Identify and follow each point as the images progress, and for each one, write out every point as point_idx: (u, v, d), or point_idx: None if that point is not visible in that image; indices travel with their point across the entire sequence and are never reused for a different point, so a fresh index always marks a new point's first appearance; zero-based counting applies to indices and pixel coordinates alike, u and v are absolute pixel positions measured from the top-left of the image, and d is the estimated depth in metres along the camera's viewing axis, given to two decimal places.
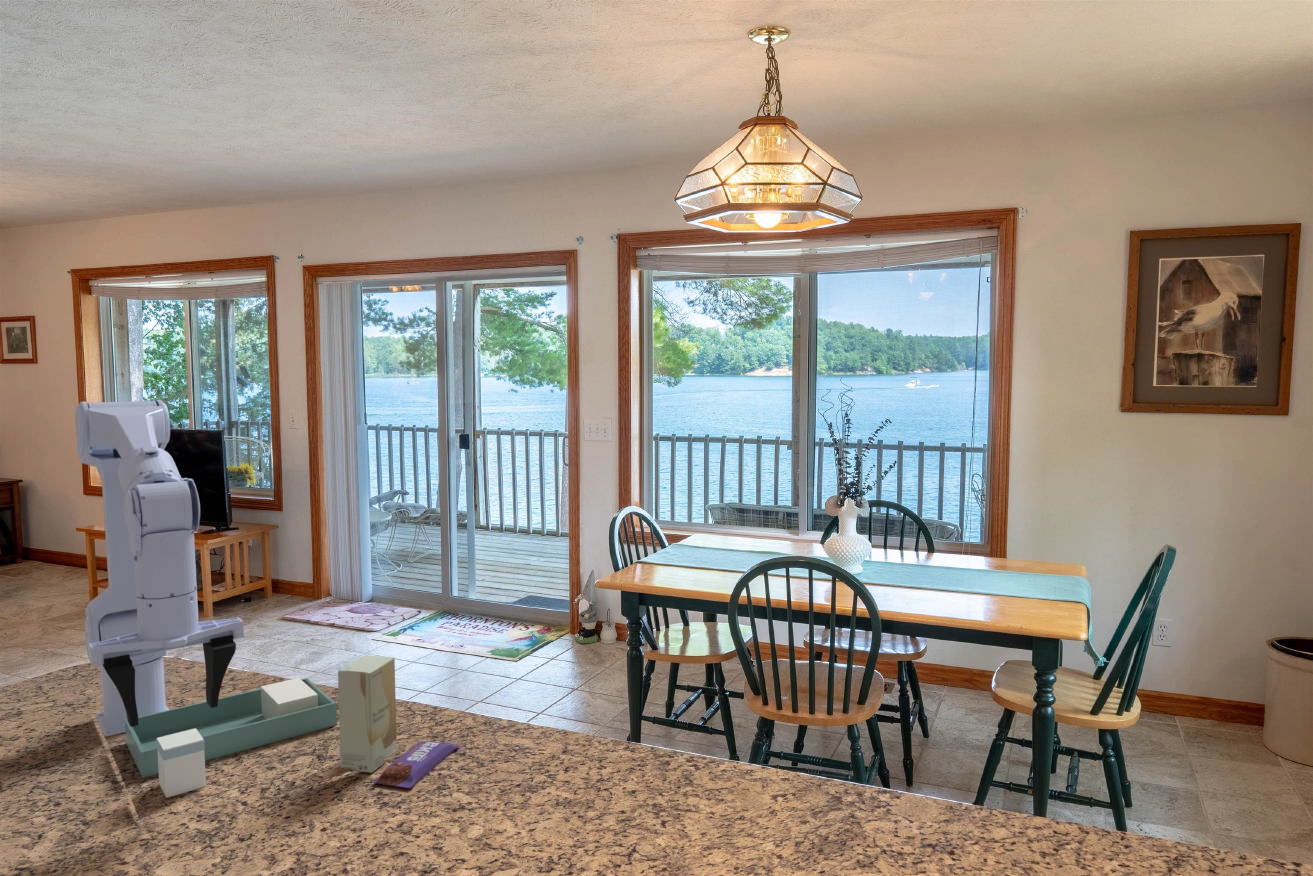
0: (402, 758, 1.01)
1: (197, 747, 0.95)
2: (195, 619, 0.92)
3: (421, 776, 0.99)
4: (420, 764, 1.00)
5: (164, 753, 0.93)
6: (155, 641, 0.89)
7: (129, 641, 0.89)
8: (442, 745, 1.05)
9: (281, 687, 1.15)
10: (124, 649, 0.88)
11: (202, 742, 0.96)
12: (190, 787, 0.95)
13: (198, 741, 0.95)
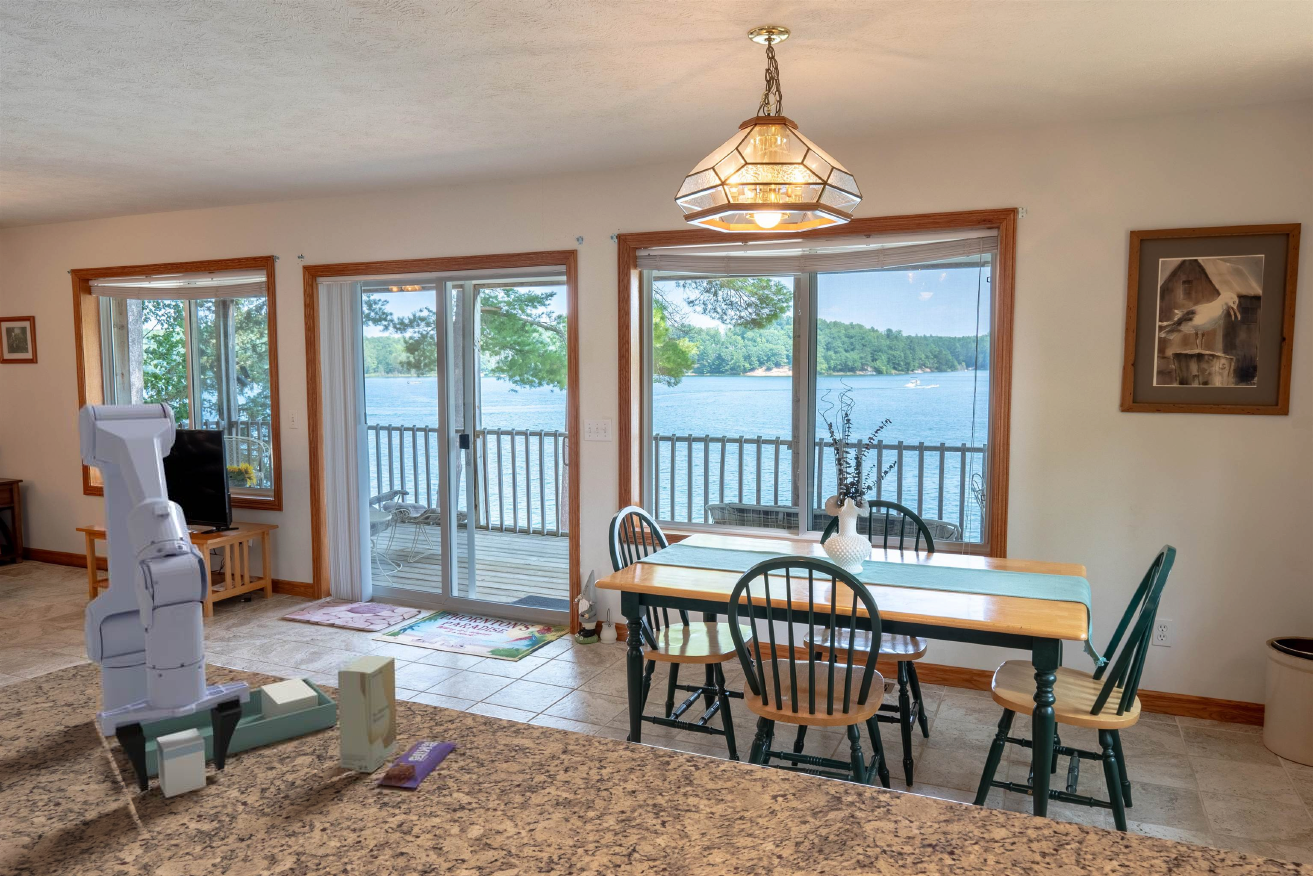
0: (403, 758, 1.01)
1: (197, 747, 0.95)
2: (203, 686, 0.96)
3: (425, 775, 0.99)
4: (423, 763, 1.00)
5: (164, 753, 0.93)
6: (165, 709, 0.93)
7: (140, 709, 0.93)
8: (441, 744, 1.05)
9: (281, 687, 1.15)
10: (135, 718, 0.92)
11: (202, 742, 0.96)
12: (190, 787, 0.95)
13: (198, 741, 0.95)
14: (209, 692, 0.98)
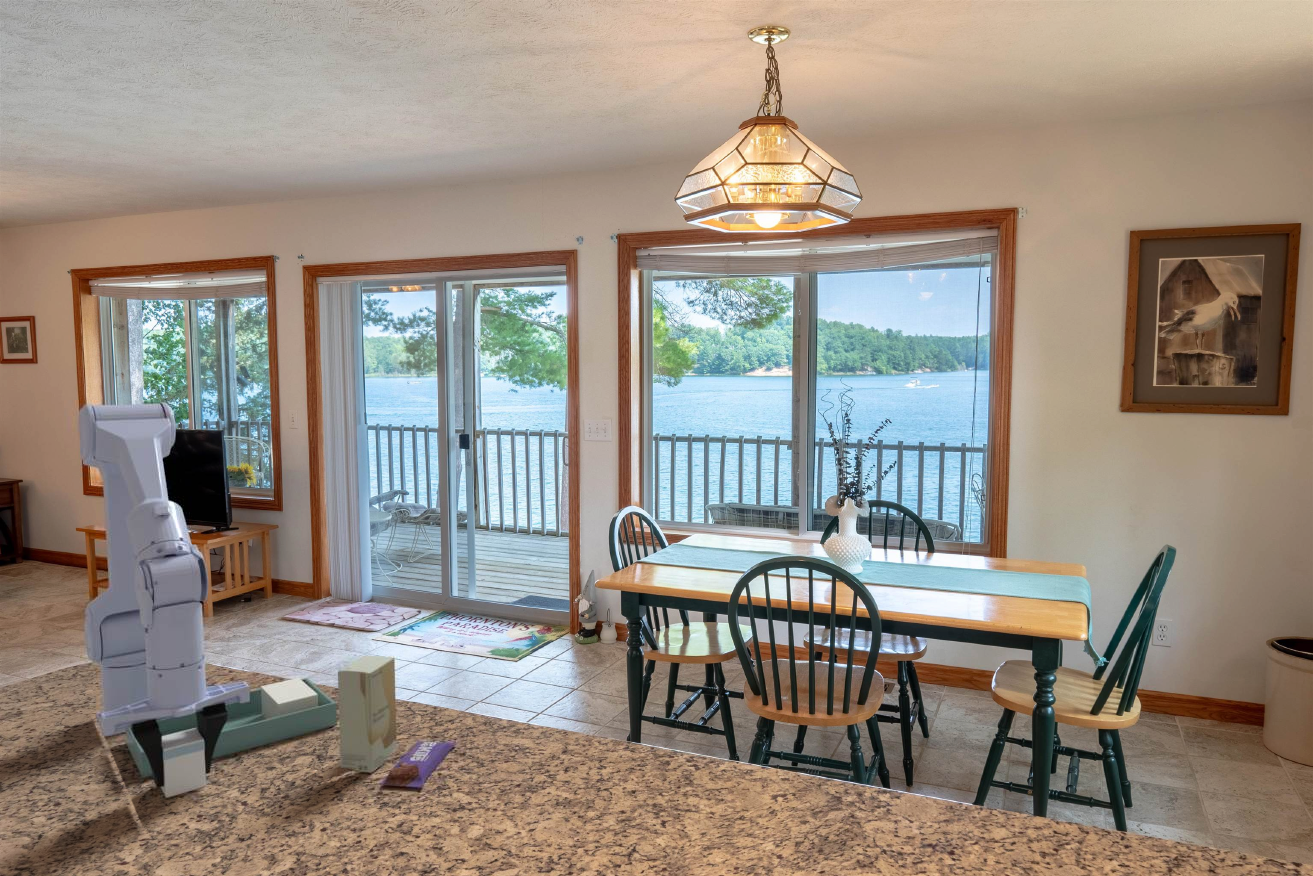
0: (405, 759, 1.01)
1: (197, 747, 0.95)
2: (203, 686, 0.96)
3: (428, 775, 0.99)
4: (426, 763, 1.00)
5: (164, 753, 0.93)
6: (165, 710, 0.93)
7: (140, 710, 0.93)
8: (441, 744, 1.05)
9: (281, 687, 1.15)
10: (135, 718, 0.92)
11: (202, 742, 0.96)
12: (190, 787, 0.95)
13: (198, 741, 0.95)
14: (209, 692, 0.98)
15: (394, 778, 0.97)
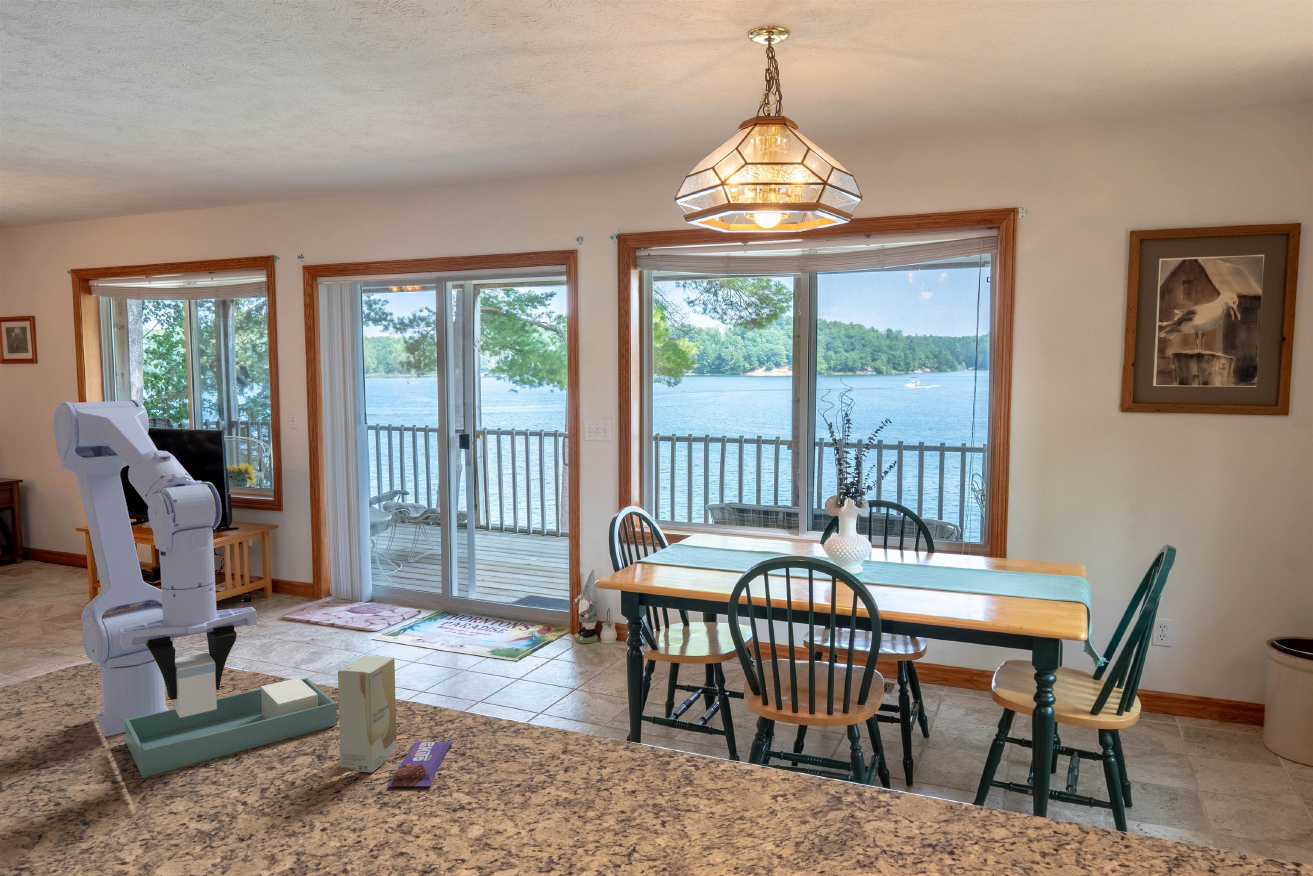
0: (407, 760, 1.01)
1: (209, 668, 1.02)
2: (213, 608, 1.03)
3: (434, 774, 0.99)
4: (430, 762, 1.00)
5: (178, 672, 1.00)
6: (178, 627, 1.00)
7: (155, 627, 1.00)
8: (440, 743, 1.05)
9: (281, 687, 1.15)
10: (151, 634, 0.99)
11: (213, 664, 1.03)
12: (202, 705, 1.02)
13: (209, 663, 1.02)
14: (219, 615, 1.05)
15: (401, 779, 0.97)
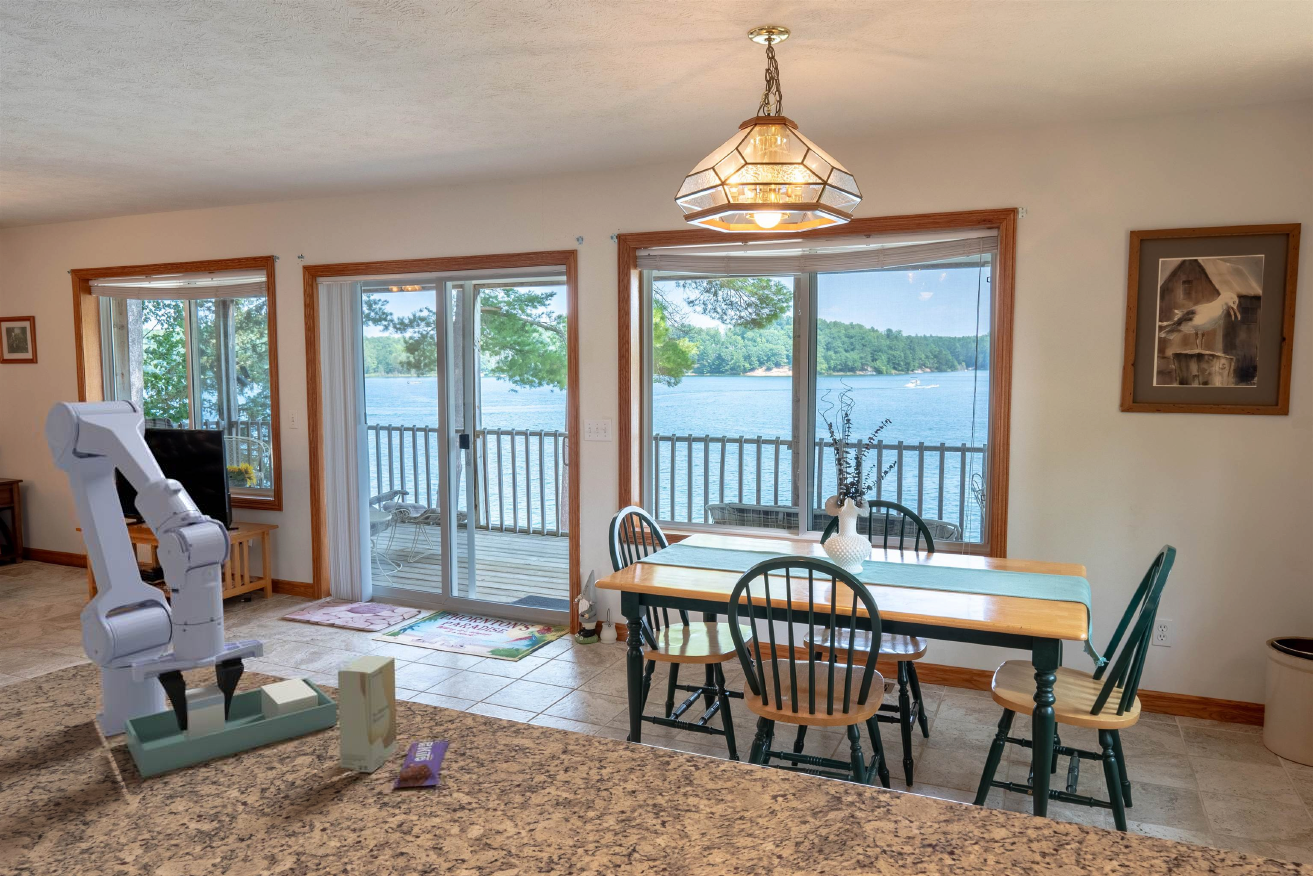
0: (409, 760, 1.00)
1: (218, 700, 1.06)
2: (222, 641, 1.07)
3: (438, 773, 0.99)
4: (434, 761, 1.00)
5: (189, 704, 1.04)
6: (188, 661, 1.04)
7: (166, 661, 1.04)
8: (438, 743, 1.05)
9: (281, 687, 1.15)
10: (162, 668, 1.03)
11: (222, 696, 1.07)
12: None
13: (219, 695, 1.06)
14: (227, 647, 1.09)
15: (406, 779, 0.97)
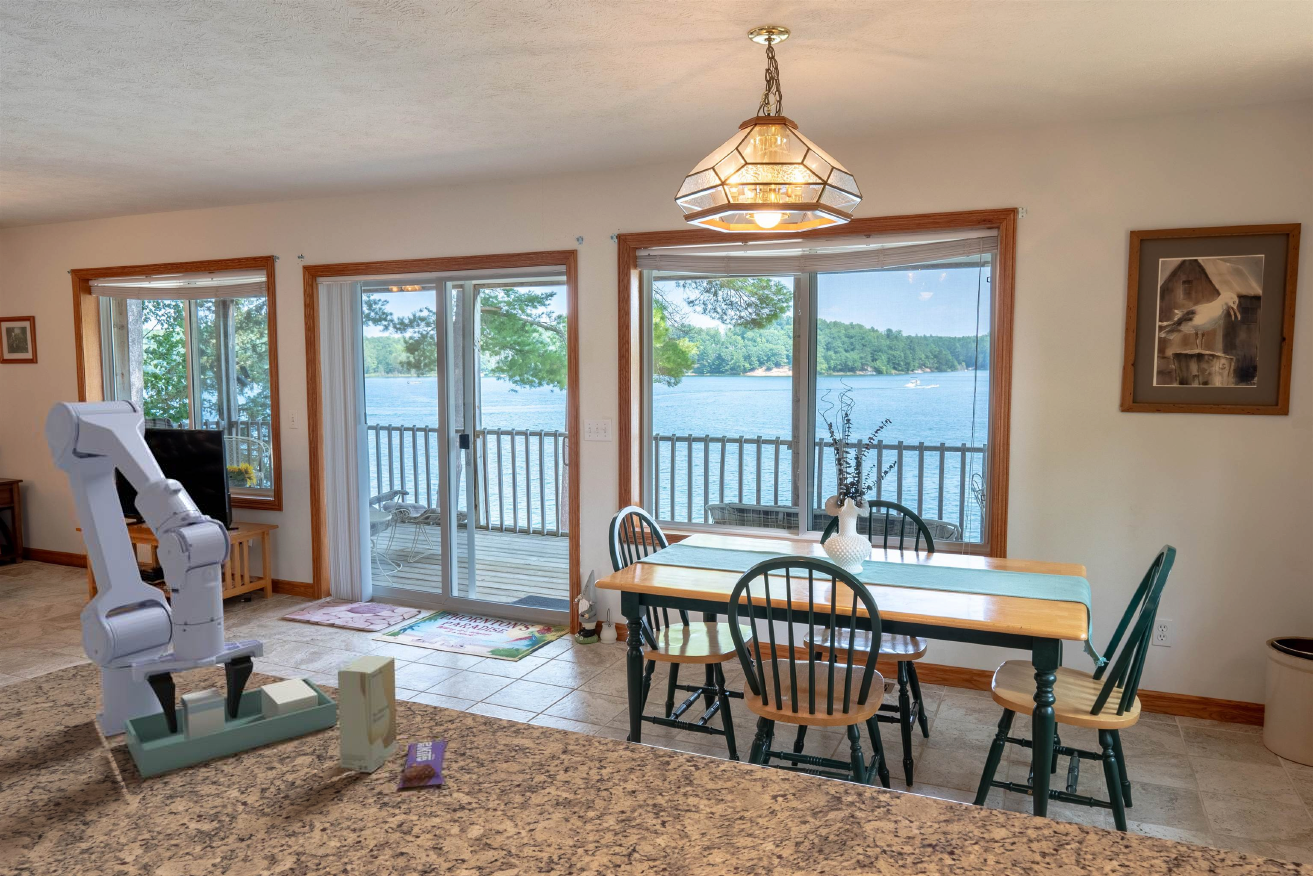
0: (411, 760, 1.00)
1: (218, 704, 1.06)
2: (222, 641, 1.07)
3: (441, 772, 1.00)
4: (436, 761, 1.00)
5: (189, 708, 1.04)
6: (188, 661, 1.04)
7: (166, 661, 1.04)
8: (437, 742, 1.05)
9: (281, 687, 1.15)
10: (162, 668, 1.03)
11: (222, 699, 1.07)
12: None
13: (219, 698, 1.06)
14: (227, 647, 1.09)
15: (410, 779, 0.97)
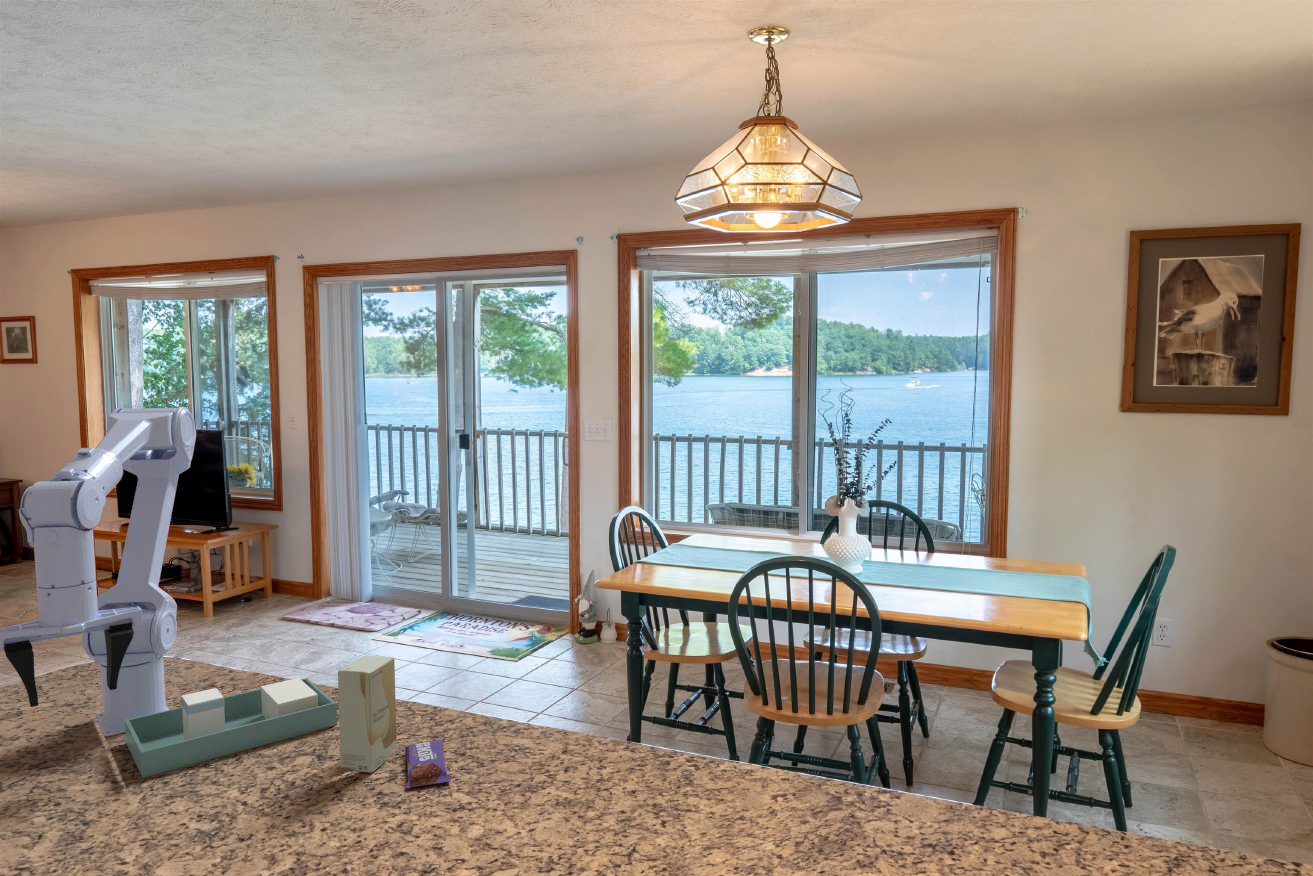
0: (414, 761, 1.00)
1: (218, 704, 1.06)
2: (93, 607, 0.99)
3: (446, 770, 1.00)
4: (440, 760, 1.00)
5: (189, 708, 1.04)
6: (54, 627, 0.96)
7: (29, 627, 0.97)
8: (435, 742, 1.05)
9: (281, 687, 1.15)
10: (23, 635, 0.95)
11: (222, 699, 1.07)
12: None
13: (219, 698, 1.06)
14: (101, 614, 1.01)
15: (418, 779, 0.97)
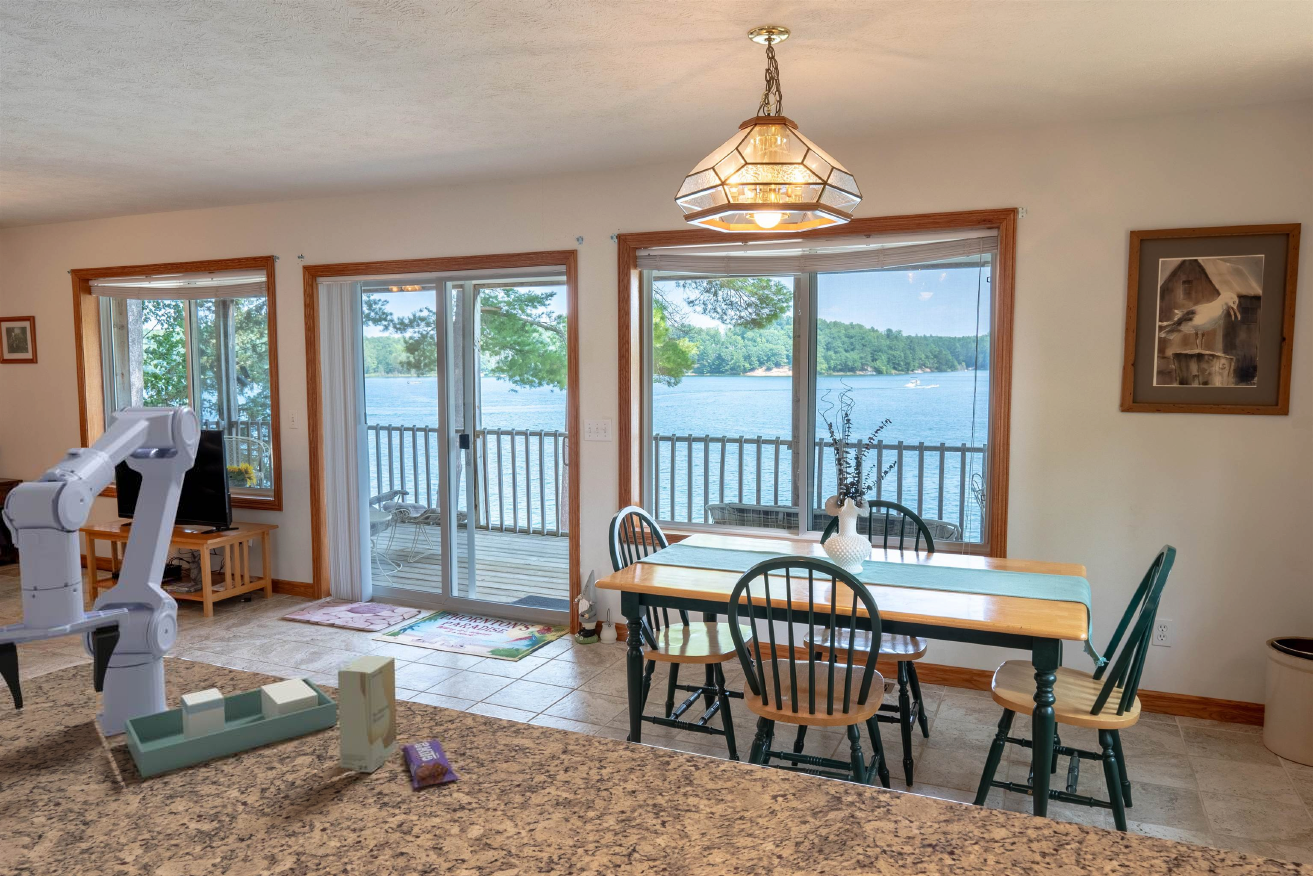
0: (417, 761, 1.00)
1: (218, 704, 1.06)
2: (79, 609, 0.99)
3: None
4: (443, 758, 1.01)
5: (189, 708, 1.04)
6: (38, 629, 0.96)
7: (14, 629, 0.96)
8: (434, 742, 1.05)
9: (281, 687, 1.15)
10: (8, 637, 0.94)
11: (222, 699, 1.07)
12: None
13: (219, 698, 1.06)
14: (87, 616, 1.00)
15: (425, 778, 0.97)
